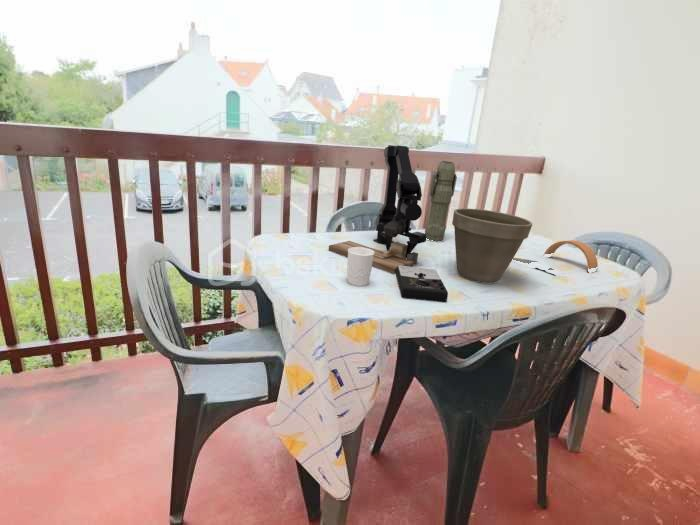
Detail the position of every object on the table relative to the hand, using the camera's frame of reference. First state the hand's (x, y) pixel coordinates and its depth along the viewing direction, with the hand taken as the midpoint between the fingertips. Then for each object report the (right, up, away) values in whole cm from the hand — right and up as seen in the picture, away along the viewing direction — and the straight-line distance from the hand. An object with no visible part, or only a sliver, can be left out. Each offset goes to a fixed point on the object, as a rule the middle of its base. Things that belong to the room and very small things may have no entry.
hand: (397, 254), depth 139 cm
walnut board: (-9, -1, 0) cm, 9 cm away
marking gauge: (-2, -3, -2) cm, 4 cm away
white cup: (-15, -9, -24) cm, 30 cm away
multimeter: (+4, -11, -23) cm, 26 cm away
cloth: (+57, -6, +9) cm, 58 cm away
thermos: (+21, +8, +34) cm, 41 cm away
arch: (+74, -4, +17) cm, 76 cm away
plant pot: (+28, -8, -8) cm, 30 cm away
